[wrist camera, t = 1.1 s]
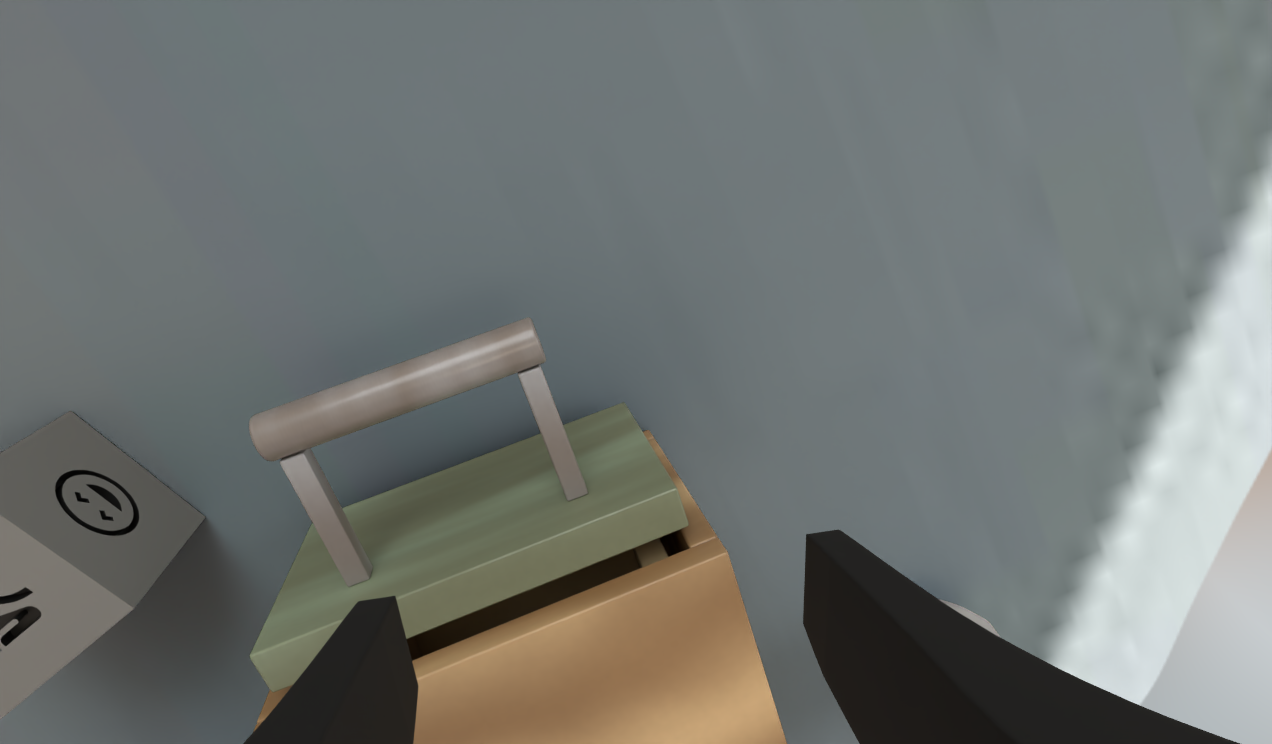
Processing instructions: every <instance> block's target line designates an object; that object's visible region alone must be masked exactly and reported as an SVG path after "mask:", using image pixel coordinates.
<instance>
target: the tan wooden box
mask: <svg viewBox="0 0 1272 744" xmlns="http://www.w3.org/2000/svg"><path fill="white" fill-rule="evenodd" d="M643 433H644V435H645V437H646V438H647V440H648V442H649V443H650V445H651V446H652V448H653V450H654V451H655V453H656V455H657V456H658V458H659V459H660V461H661V463H662V464H663V466H664V468H665V469H666V471H667V473H668V474H669V476H670V477H671V479H672V481H673V482H674V484H675V486H676V487H677V489H678V492H679V495H680V498H681V501H682V504H683V507H684V510H685V514H686V517H687V520H688V523H689V525H688V526H687V527H685V528H683V529H680V530H678V531H675V532H673V533H670V534H668V535H665V536H663V537H660V540H661V542H662V544H663V546H664V548H665V550H666V552H667V554H668V556H669V557H667V558H665V559H662V560H660V561H657V562H655V563H652V564H650V565H647V566H645V567H642V568H640V569H637V570H635V571H632V572H630V573H628V574H625V575H623V576H620V577H618V578H615V579H613V580H610V581H608V582H605V583H603V584H600V585H598V586H595V587H593V588H591V589H588V590H586V591H583V592H581V593H578V594H576V595H573V596H571V597H568V598H566V599H563V600H561V601H558V602H556V603H553V604H551V605H549V606H546V607H544V608H541V609H539V610H536V611H534V612H531V613H529V614H526V615H524V616H521V617H519V618H516V619H514V620H511V621H509V622H507V623H504V624H502V625H499V626H497V627H494V628H492V629H489V630H487V631H484V632H482V633H479V634H477V635H474V636H472V637H470V638H467V639H465V640H462V641H460V642H457V643H455V644H452V645H450V646H447V647H445V648H442V649H440V650H437V651H435V652H432V653H430V654H428V655H425V656H423V657H420V658H418V659H415V660H413V661H412V663H413V666H414V670H415V674H416V678H417V682H418V686H419V687H418V699H417V711H416V722H415V732H414V741H413V744H787V742H786V739H785V736H784V732H783V729H782V726H781V723H780V720H779V716H778V713H777V710H776V707H775V703H774V700H773V697H772V694H771V690H770V687H769V684H768V681H767V677H766V674H765V671H764V668H763V665H762V661H761V658H760V655H759V652H758V648H757V645H756V642H755V639H754V635H753V632H752V629H751V626H750V622H749V619H748V616H747V613H746V610H745V606H744V603H743V600H742V597H741V593H740V590H739V587H738V584H737V580H736V577H735V574H734V571H733V567H732V564H731V561H730V558H729V555H728V552H727V550H726V549H725V547H724V546H723V544H722V543H721V541H720V540H719V538H718V537H717V535H716V534H715V532H714V530H713V529H712V527H711V526H710V524H709V523H708V521H707V520H706V518H705V516H704V515H703V513H702V512H701V510H700V509H699V507H698V506H697V504H696V502H695V501H694V499H693V498H692V496H691V495H690V493H689V491H688V490H687V488H686V487H685V485H684V484H683V482H682V481H681V479H680V477H679V476H678V474H677V473H676V471H675V470H674V468H673V467H672V465H671V463H670V462H669V460H668V459H667V457H666V456H665V454H664V452H663V451H662V449H661V448H660V446H659V445H658V443H657V442H656V440H655V439H654V437H653V435H652V434H651V432H650V431H649V430H646V431H644V432H643ZM291 687H292V685H291V686H289V687H286V688H284V689H281V690H279V691H276V692H271V690H270V691H269V693H268V696H267V698H266V701H265V703H264V706H263V708H262V711H261V713H260V716H259V718H258V721H257V725H256V726H255V729H254V731H255V730H256V729H257V728H258V726H259V725H260V724H261V723H262V722H263V721H264V720H265V718H266V717H267V716H268V715H269V714H270V713H271V711H272V710H273V709H274V708H275V707H276V705H277V704H278V703H279V702H280V700H281V699H282V698H283V697H284V695H285V694H286V693H287V692H288V690H289V689H290V688H291ZM254 731H253V732H254Z"/></svg>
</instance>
